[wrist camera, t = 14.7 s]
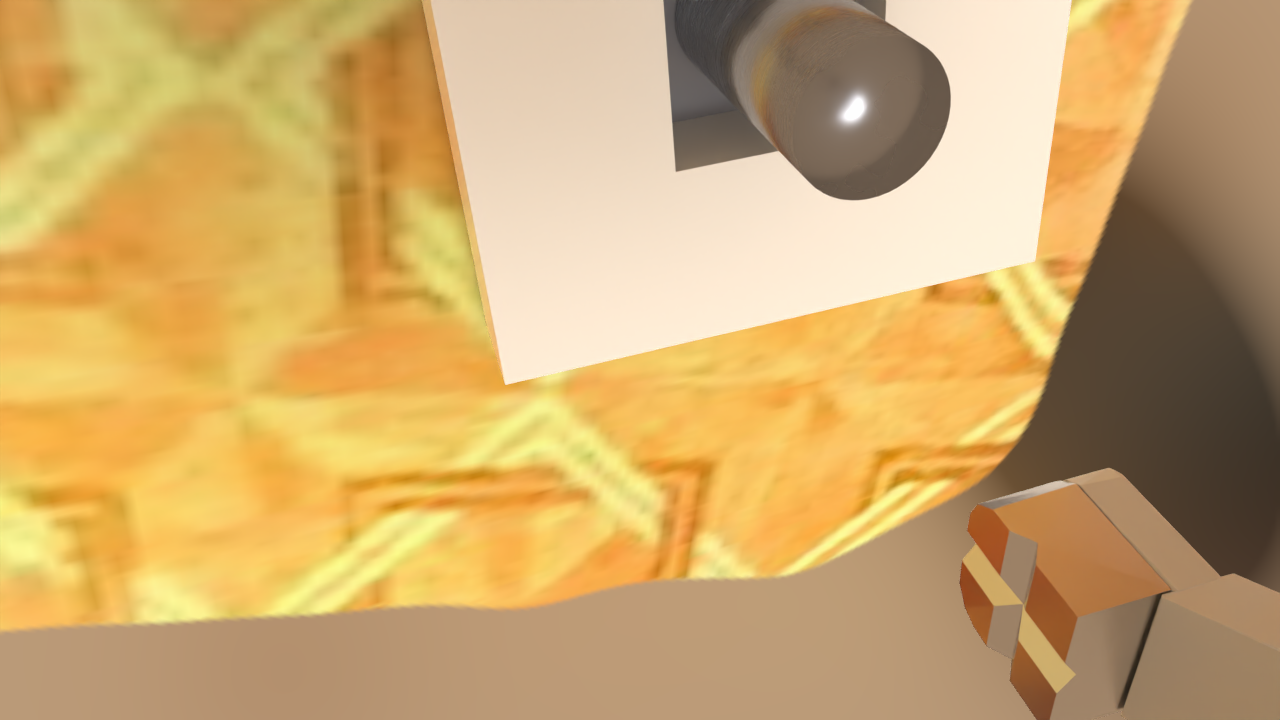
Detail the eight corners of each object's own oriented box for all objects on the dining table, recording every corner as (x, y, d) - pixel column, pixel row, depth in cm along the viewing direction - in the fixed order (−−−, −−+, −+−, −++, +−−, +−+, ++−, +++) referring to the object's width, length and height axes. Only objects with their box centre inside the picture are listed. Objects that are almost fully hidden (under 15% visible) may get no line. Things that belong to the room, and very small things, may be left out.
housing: (360, -310, 29) (372, -301, 26) (1041, -390, 32) (1126, -392, 29) (485, 324, 40) (505, 384, 37) (978, 214, 44) (1034, 261, 41)
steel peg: (669, -48, 35) (792, 53, 27) (800, -69, 35) (957, 22, 27) (678, 87, 37) (792, 215, 29) (800, 64, 38) (943, 183, 30)
